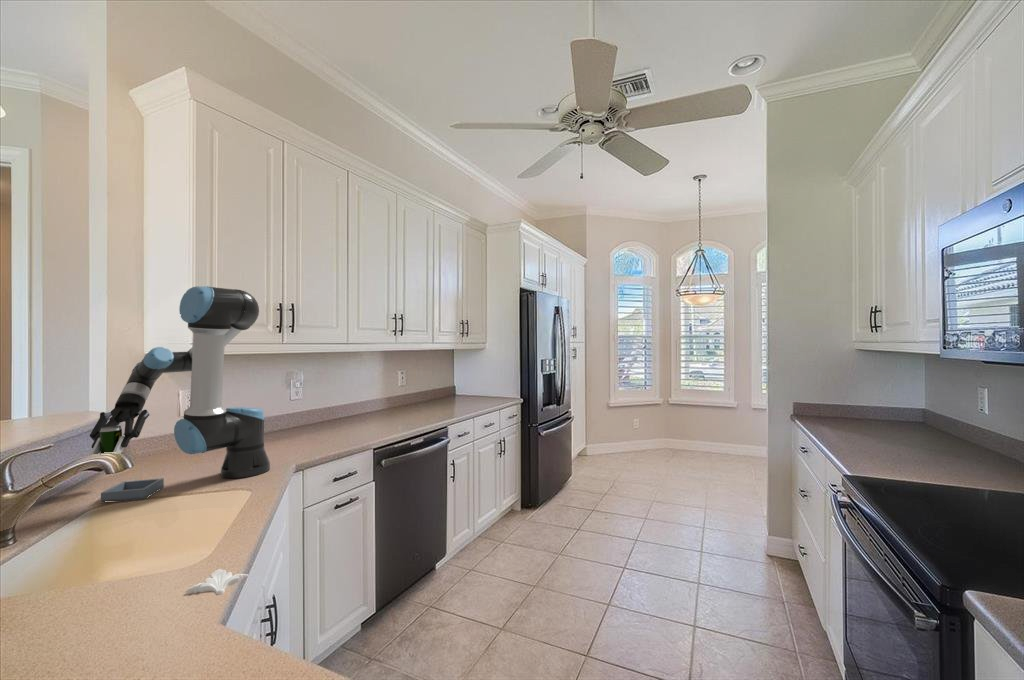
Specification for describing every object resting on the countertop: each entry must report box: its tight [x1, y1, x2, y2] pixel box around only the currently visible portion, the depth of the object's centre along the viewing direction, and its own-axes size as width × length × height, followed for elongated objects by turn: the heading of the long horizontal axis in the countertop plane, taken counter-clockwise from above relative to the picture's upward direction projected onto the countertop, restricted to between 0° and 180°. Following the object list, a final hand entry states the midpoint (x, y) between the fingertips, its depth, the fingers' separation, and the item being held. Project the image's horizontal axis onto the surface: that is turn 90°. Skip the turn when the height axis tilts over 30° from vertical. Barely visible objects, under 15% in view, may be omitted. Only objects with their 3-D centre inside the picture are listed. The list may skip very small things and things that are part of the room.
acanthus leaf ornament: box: [185, 568, 249, 596], centre depth 85 cm, size 8×7×2 cm
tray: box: [100, 477, 165, 503], centre depth 137 cm, size 11×11×3 cm
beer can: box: [100, 425, 124, 455], centre depth 145 cm, size 5×5×12 cm
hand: (104, 456), depth 141 cm, fingers closed on beer can, 5 cm apart
